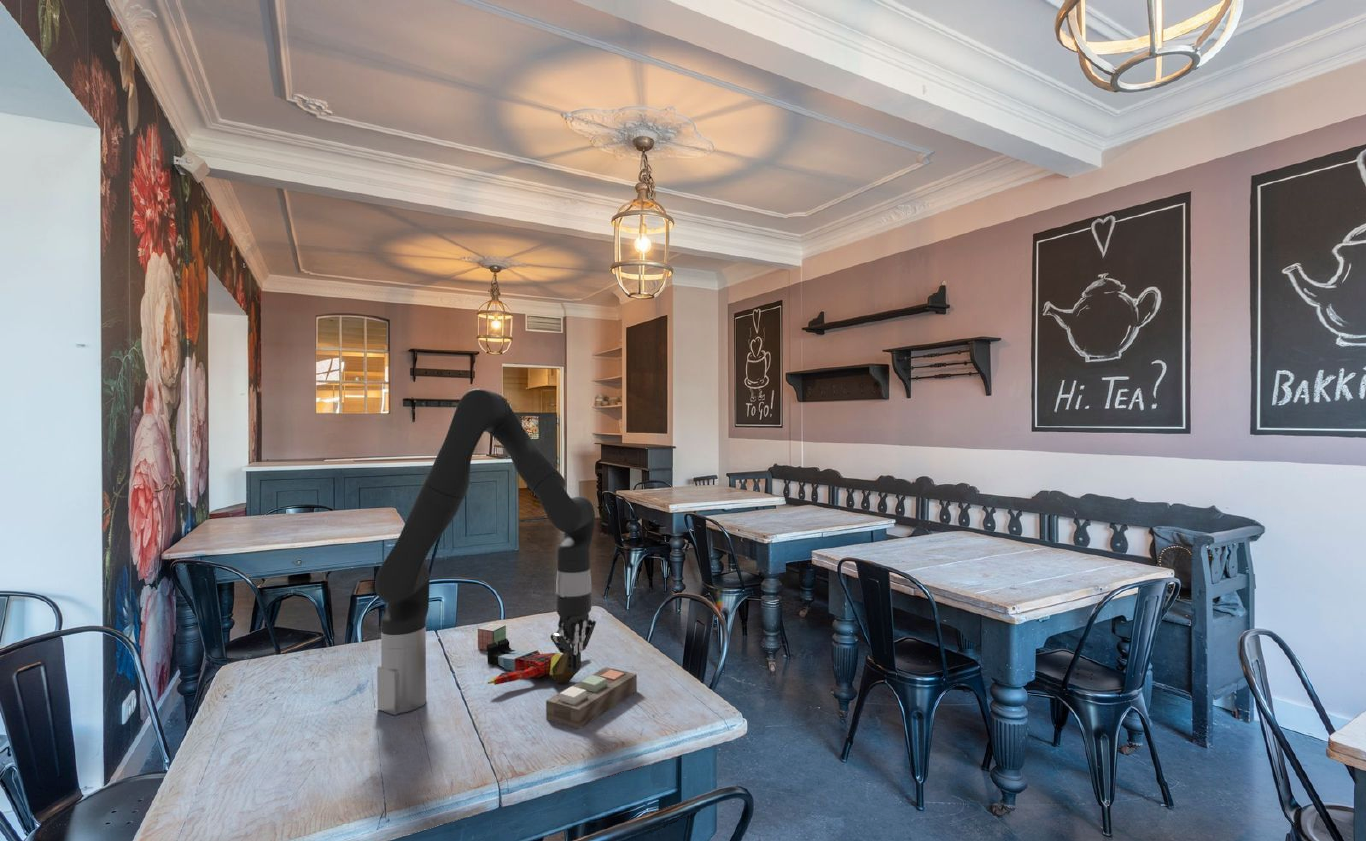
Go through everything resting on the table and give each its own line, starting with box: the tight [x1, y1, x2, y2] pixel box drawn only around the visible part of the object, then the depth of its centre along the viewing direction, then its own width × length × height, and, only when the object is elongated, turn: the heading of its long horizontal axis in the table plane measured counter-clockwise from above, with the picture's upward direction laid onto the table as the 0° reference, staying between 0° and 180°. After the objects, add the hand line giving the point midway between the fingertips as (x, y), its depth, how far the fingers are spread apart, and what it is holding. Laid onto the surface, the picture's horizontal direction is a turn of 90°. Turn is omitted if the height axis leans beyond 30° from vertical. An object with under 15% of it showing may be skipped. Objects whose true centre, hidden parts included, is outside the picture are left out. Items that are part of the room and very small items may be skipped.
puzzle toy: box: [477, 623, 507, 651], centre depth 179 cm, size 6×6×6 cm
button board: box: [545, 666, 638, 730], centre depth 141 cm, size 21×9×4 cm, turn 150°
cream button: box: [559, 685, 586, 705], centre depth 135 cm, size 4×4×3 cm
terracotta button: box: [600, 670, 624, 681], centre depth 147 cm, size 4×4×3 cm
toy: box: [486, 637, 587, 685], centre depth 160 cm, size 31×8×30 cm
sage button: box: [580, 674, 606, 692], centre depth 141 cm, size 4×4×3 cm
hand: (574, 670), depth 136 cm, fingers closed
